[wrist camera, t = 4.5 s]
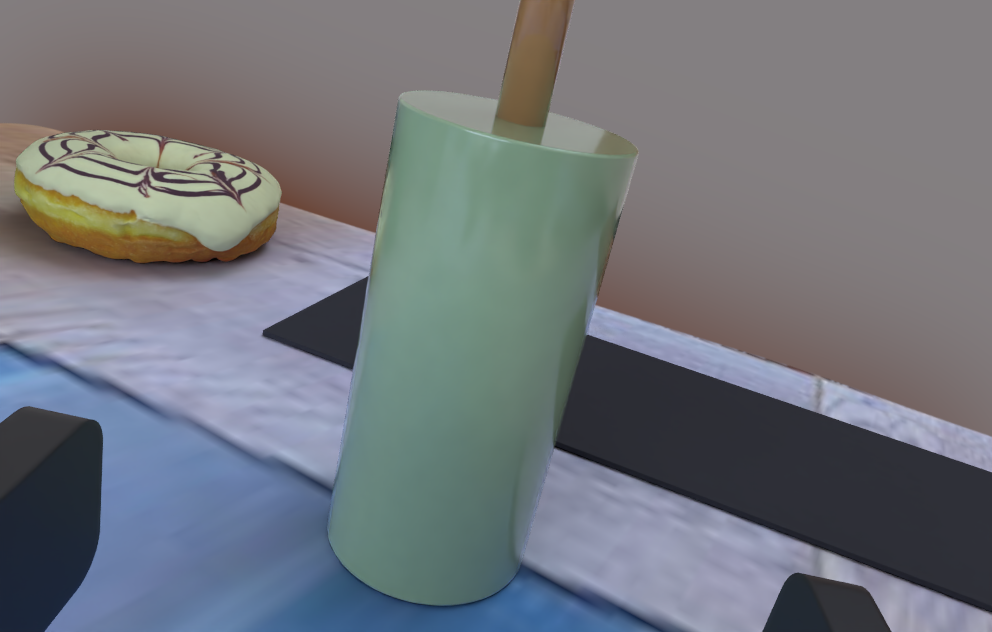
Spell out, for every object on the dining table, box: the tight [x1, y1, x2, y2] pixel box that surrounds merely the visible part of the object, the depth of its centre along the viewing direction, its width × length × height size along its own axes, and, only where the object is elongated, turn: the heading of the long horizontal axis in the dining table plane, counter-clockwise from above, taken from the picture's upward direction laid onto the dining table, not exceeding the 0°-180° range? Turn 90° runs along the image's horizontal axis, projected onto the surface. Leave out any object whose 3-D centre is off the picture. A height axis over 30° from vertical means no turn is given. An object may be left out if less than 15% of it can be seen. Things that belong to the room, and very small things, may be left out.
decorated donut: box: [14, 130, 282, 263], centre depth 36 cm, size 10×11×4 cm
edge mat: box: [263, 276, 992, 612], centre depth 31 cm, size 28×10×1 cm, turn 69°
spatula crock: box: [327, 0, 639, 606], centre depth 17 cm, size 5×5×24 cm
